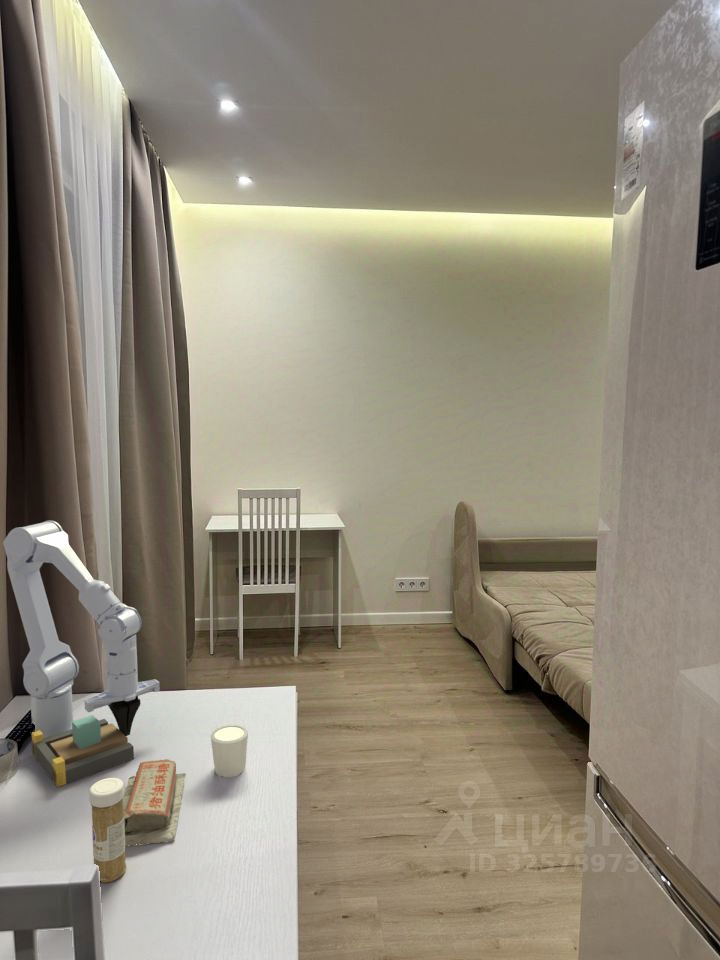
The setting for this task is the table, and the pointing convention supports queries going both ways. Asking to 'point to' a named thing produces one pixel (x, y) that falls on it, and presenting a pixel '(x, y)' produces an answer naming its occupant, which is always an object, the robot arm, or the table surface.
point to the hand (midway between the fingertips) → (124, 733)
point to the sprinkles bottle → (108, 828)
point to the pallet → (72, 753)
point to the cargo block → (86, 731)
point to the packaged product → (152, 803)
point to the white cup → (229, 750)
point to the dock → (79, 768)
